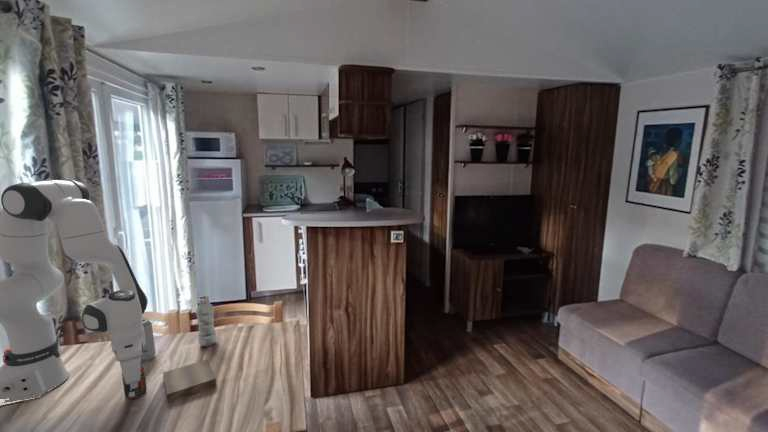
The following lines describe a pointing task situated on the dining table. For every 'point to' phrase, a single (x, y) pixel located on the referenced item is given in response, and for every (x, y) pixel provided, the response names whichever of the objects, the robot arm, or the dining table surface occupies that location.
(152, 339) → the energy drink can
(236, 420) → the dining table surface
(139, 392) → the supplement bottle
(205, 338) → the plastic bottle
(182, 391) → the beige flat square block
